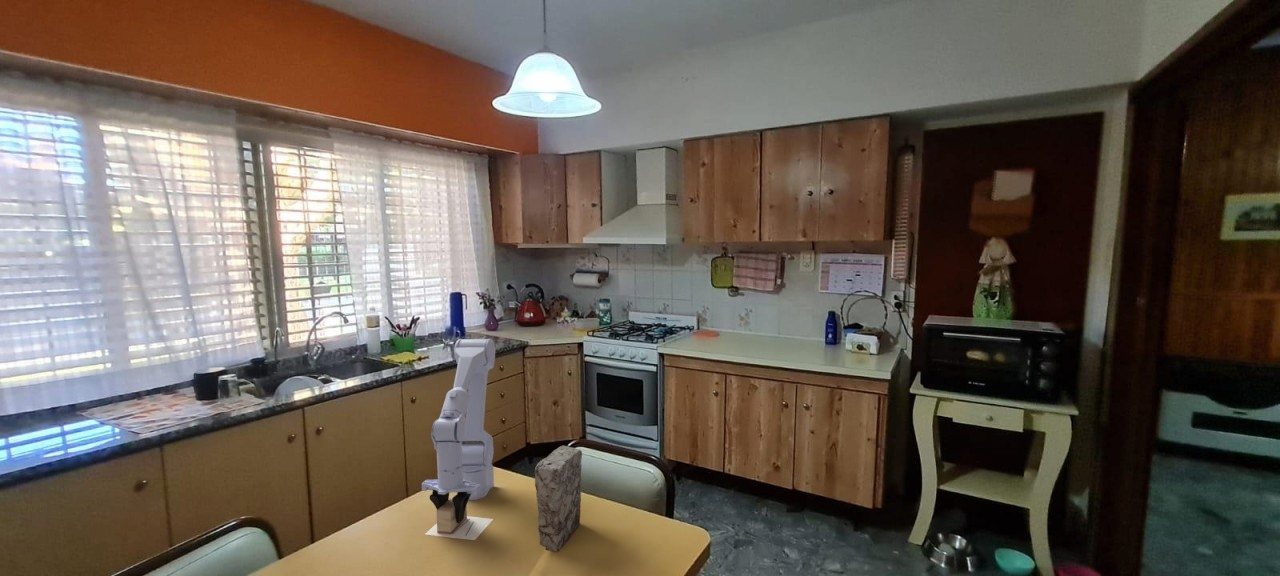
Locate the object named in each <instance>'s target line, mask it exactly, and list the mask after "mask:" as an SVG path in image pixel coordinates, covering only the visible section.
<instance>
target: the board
mask: <svg viewBox="0 0 1280 576" xmlns="http://www.w3.org/2000/svg"><path fill="white" fill-rule="evenodd" d="M493 521H494V518H488V517H478V516H471V515H470V516H468V515H467V519H466V520H465V521H464V522H463V523H462V524H461V525H460V526H459V527H458V528H457V529H456V530H455V531H454V532H453V533H452V534H442V533H437V522H436V524H434V525H433V526H432V527H431V528H429V530H428V531H427V532H426V533H424V535H426V536H432V537H433V536H435V537H443V538H450V539H451V538H452V539H461V540H469V541H470V540H471V541H476V540H477V539H478V538H479V536H480V535H481V534H482V533H483V532H484V531H485V530H486V528H487V527H488V526H489V525H490V524H491V523H492V522H493Z"/></svg>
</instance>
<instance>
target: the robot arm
mask: <svg viewBox="0 0 1280 576" xmlns="http://www.w3.org/2000/svg"><path fill="white" fill-rule="evenodd" d="M453 348H454V350H453V352H454V353H453V354H454V357H455V362H456V364H457V367H456V372H455V377H454V382H453V388H451V389H450V390H449V391H447V392H446V395H445V399H444V402H443V406H442V408H441V412H440V415H439V417H438V419H435V420H434V422H433V423H432V427H431V435H430V436H431V437H430V438H431V441H432V442H433V448H434V450H435V451H436V462H437V463H436V465H437V479H426V480H424V481H423V482H421V491H422V492H427V491H432V493H431V494H430V495H429V500H430V501H431V502H432V503H433V505H434V507H435V509H436V511H437V510H438V509H439V508H440V507H441V506H442V505H444V504H445V503H446V502H447V501H448V500H449V499H450V498H449V497H450V493H456V495H453V496H454V497H453V496H452V497H453V498H452V501H453V503H454V507H455V513H456V522H457V523H460V522H461V521H462V520H463V519H464V513H465V509H466V506H467V505H468V502H469V501H476V500H480V499H482V498H484V497H486V496H487V495H488V493H489V491H490V490H491V489H492V488H494V487H495V483H494V482H495V480H494V479H495V478H494V473H495V472H494V465H493V464H492V463H493V462H492V461H493V459H494V451H495V450H494V438H493V436H492V435H491V434H489V432H487V431H486V430H485V429H484V426H485V416H486V415H485V413H486V412H485V411H486V400H487V399H486V398H487V397H486V396H487V388H488V387H487V386H488V385H487V384H488V375H489V371H490V370H492V369H494V368H495V364H496V363H495V362H496V361H495V360H496V345H495V342H494V340H493V338H477V339H476V338H475V339H474V338H472V339H471V338H465V339H463V338H459V339H458V340H456V342H455V344H454V347H453ZM470 441H471V442H470Z"/></svg>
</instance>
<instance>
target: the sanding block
mask: <svg viewBox="0 0 1280 576" xmlns="http://www.w3.org/2000/svg"><path fill="white" fill-rule="evenodd" d="M454 496H455V495H453V496H451V498H449V500H448V501H447V502H446V503H445V504H444V505H442V506H441V507H440V508H439V509H438V510H437V509H436V511H435V512H436V523H437V533H442V534H452V533H453V532H454V531H455V530H456V529H457V528H458V527H459V526H460V525H461V524H462V523H463V522H464V521H465V520H466V519H467V516H468V514H467V511H468V510H467V509H468V508H467V505H466V509H465V513H464V519H463V520H462V521H461V522H460V523H457V522H456V513H455V507H454V503H453V501H452V498H453V497H454Z"/></svg>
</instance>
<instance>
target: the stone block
mask: <svg viewBox="0 0 1280 576" xmlns="http://www.w3.org/2000/svg"><path fill="white" fill-rule="evenodd" d="M582 457H583V452H582V450H581V449H579V448H576V447H571V446H567V445H560V446H559V447H557V448H556V449H554V450H553V451H552V452H551V453H549V454H548V456H547V457H545V458H543V459H541V460H540V461H539V462H537V465H536V466H535V469H534V476H535V477H534V487H535V491H536V492H535V493H536V501H537V502H536V503H537V508H538V509H537V510H538V518H537V520H538V521H537V522H538V533H539V545H541V546H545V547H546V548H545V550H546V551H550V552H554V553H557V552H560V551H561V550H562V549H563V547H564V546H565V545H566V544H567V543H568V541H569V540H570V538H571V537H572V535H573V534H574V533H575V531H576V530H577V529H578V528H579V526H581V522H580V521H581V520H580V519H581V505H582V503H581V501H582V498H581V497H582V495H581V494H582V492H581V490H582V483H581V482H582V459H583V458H582Z"/></svg>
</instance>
